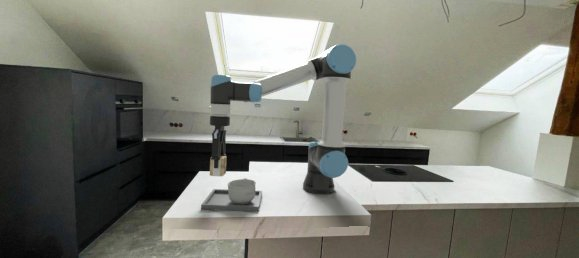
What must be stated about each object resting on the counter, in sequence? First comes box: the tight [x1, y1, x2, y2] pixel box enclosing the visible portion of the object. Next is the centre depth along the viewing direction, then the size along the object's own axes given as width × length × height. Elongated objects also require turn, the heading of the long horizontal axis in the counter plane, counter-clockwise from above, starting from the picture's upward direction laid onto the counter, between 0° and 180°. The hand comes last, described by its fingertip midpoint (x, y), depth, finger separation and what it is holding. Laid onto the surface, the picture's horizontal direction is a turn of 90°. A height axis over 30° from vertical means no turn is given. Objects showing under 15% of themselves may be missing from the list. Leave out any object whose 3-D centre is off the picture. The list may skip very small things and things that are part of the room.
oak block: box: [209, 155, 228, 177], centre depth 104 cm, size 5×5×7 cm
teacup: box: [227, 177, 257, 205], centre depth 105 cm, size 14×11×8 cm
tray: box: [200, 188, 263, 212], centre depth 105 cm, size 21×18×2 cm
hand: (218, 173), depth 104 cm, fingers closed on oak block, 5 cm apart
